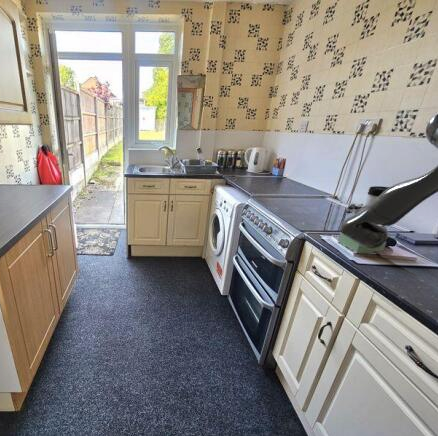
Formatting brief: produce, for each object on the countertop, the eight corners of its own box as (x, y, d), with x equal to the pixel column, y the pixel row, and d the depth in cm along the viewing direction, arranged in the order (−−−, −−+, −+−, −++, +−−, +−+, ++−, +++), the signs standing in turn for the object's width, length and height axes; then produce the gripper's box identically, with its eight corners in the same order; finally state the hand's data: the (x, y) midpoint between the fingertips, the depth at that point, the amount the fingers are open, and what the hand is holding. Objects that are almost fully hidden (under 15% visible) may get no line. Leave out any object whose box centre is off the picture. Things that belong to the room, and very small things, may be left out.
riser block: (360, 242, 103) (364, 231, 101) (381, 254, 94) (386, 242, 92) (337, 241, 103) (340, 231, 101) (355, 253, 94) (360, 242, 92)
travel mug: (377, 241, 92) (398, 189, 85) (356, 238, 94) (375, 187, 87) (369, 234, 98) (388, 185, 91) (349, 231, 100) (367, 183, 93)
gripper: (402, 213, 77) (402, 203, 88) (345, 203, 86) (352, 195, 97) (393, 235, 79) (394, 222, 91) (339, 222, 89) (346, 212, 100)
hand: (373, 208), depth 94 cm, fingers closed on travel mug, 6 cm apart
